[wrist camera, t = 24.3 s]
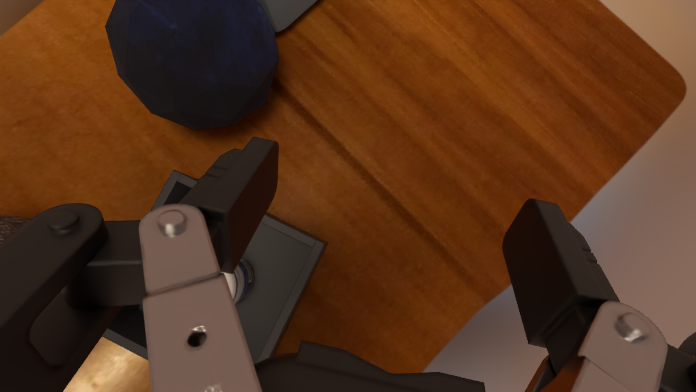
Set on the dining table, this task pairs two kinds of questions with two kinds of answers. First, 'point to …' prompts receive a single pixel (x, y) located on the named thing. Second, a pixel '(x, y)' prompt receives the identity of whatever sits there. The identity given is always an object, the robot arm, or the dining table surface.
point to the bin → (268, 286)
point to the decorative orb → (195, 57)
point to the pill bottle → (240, 281)
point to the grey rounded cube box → (284, 11)
